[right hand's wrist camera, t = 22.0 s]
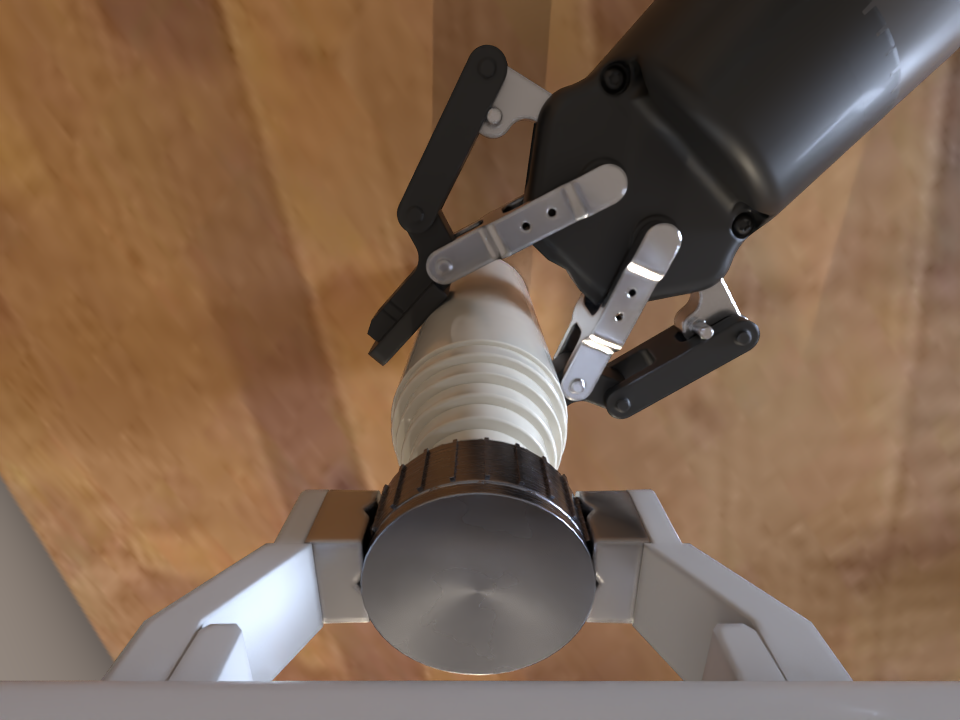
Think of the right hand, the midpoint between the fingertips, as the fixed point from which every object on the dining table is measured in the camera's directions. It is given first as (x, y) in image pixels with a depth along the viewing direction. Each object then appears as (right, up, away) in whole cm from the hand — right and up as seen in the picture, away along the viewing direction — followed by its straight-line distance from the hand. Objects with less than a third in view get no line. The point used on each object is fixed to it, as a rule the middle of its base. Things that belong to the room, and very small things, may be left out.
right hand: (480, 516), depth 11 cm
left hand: (-2, +2, +10) cm, 10 cm away
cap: (0, -1, -2) cm, 2 cm away
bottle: (0, +6, +15) cm, 17 cm away
